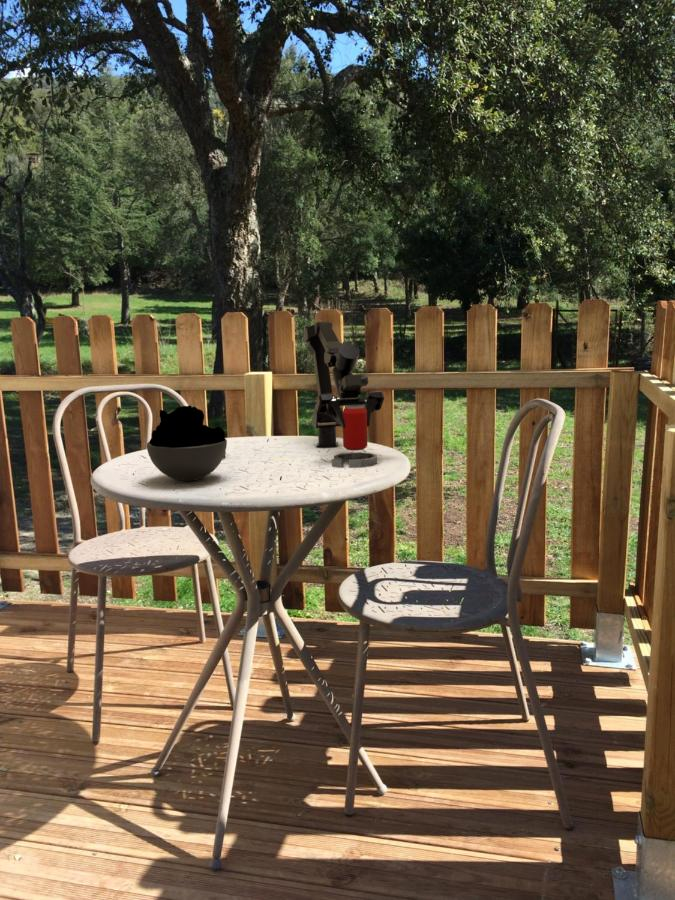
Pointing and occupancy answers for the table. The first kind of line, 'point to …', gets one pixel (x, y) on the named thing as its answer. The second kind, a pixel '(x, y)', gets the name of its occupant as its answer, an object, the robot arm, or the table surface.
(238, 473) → the table surface
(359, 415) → the beverage can
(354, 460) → the ring collar
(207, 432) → the coal bowl
